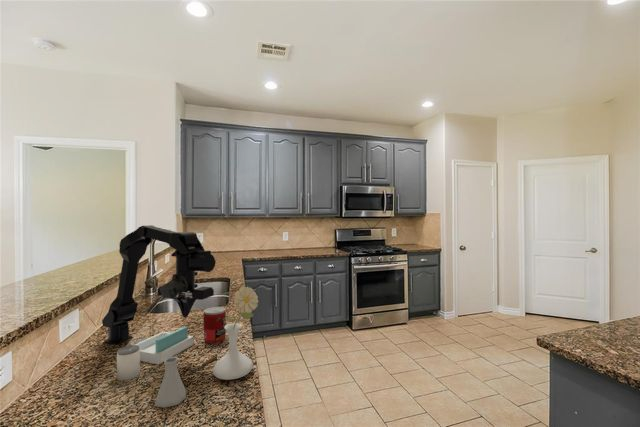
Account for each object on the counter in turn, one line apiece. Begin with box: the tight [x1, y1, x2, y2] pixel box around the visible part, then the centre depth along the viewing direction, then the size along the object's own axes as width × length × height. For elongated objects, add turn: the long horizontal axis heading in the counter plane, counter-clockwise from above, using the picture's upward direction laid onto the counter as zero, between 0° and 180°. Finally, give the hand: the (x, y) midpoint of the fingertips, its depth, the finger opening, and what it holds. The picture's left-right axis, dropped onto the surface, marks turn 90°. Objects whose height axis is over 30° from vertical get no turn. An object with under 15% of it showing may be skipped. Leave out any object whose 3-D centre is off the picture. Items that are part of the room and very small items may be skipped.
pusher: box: [156, 325, 189, 353], centre depth 99 cm, size 1×12×6 cm, turn 161°
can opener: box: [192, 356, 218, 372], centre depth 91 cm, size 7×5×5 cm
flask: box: [154, 356, 187, 409], centre depth 74 cm, size 7×7×10 cm
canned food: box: [203, 306, 227, 344], centre depth 110 cm, size 8×8×11 cm
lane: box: [133, 331, 194, 365], centre depth 101 cm, size 17×15×3 cm
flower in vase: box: [212, 286, 259, 381], centre depth 86 cm, size 13×11×25 cm
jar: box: [116, 344, 141, 382], centre depth 85 cm, size 6×6×8 cm
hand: (185, 317), depth 97 cm, fingers closed
